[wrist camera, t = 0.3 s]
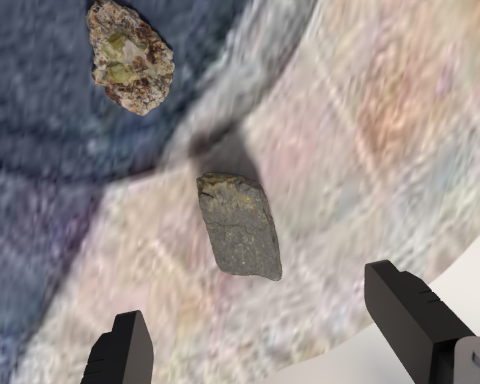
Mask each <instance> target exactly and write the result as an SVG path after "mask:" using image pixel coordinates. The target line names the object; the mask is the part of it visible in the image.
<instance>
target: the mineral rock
mask: <svg viewBox="0 0 480 384" xmlns="http://www.w3.org/2000/svg"><path fill="white" fill-rule="evenodd" d="M85 19H86V20H87V26H88V29H89V31H90V35H89V37H90V40H89V41H90V43H91V45H92V46H93V49H94V52H95V56H94V63H95V65H96V67H95V68H93V73H92V77H93V79H94V80H95V82H94V83H95V84H97V85H101V86H104V87H105V92H106V94H107V96H108V97H109V98H110V99H111V100H113V101H114V102H115V103H117V104H118V105H120V106H122V107H125V108H127V109H128V110H129V111H132V112H134V113H136V114H139V115H145V114H147V113H148V112H149V111H150V110H151V109H152V108H156V107H158V106H159V104H160V102H163V100H164V99H165V97H166V96H167V95H168V92H169V85H170V83H171V82H172V77H173V73H172V72H173V70H174V68H175V65H174V63H173V51H172V50H170V49H169V48H168V47H167V46H166V44H165V43H164V42H162V41H161V38H160V37H159V36H158V33H156V32H155V31H152V29H151V26H150V25H148V24H147V23H145V22H144V21H142V20H141V19H140V18H139V14H138V13H137V12H136V11H134V10H132V9H129V8H127V6H124V7H121V6H119V5H118V4H117V3H115V2H114V1H112V0H96V1H94V5H93V6H92V7H91V8H90V10H88V14H87V15H86V17H85Z"/></svg>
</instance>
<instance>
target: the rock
mask: <svg viewBox="0 0 480 384" xmlns="http://www.w3.org/2000/svg"><path fill="white" fill-rule="evenodd" d="M197 187H198V197H199V203H200V207H201V210H202V214H203V219H204V221H205V224H206V228H207V231H208V234H209V238H210V241H211V244H212V250H213V253H214V257H215V260H216V263H217V265H218V267H219V268H220V270H221V271H223V272H225V273H229V274H232V275H241V276H249V275H258V276H262V277H266V278H268V279H270V280H273V281H279V280H280V279H281V276H282V266H281V261H280V252H279V243H278V238H277V234H276V230H275V226H274V222H273V219H272V217H271V215H270V210H269V205H268V202H267V198H266V195H265V193H264V190H263V188H262V186H261V185H260V184H259V183H257V182H256V181H252V180H249V179H245V178H244V176H238V175H236V174H230V173H222V174H219V173H205V174H204V175H203V176H202V177H199V178H197Z"/></svg>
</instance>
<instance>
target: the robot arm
mask: <svg viewBox="0 0 480 384" xmlns="http://www.w3.org/2000/svg"><path fill="white" fill-rule="evenodd" d="M364 298H365V303H366V307H367V310H368V312H369V314H370V316H371V317H372V319H373V320H374V322H375V323H376V325H377V326H378V328H379V329H380V331H381V332H382V334H383V335H384V337H385V338H386V340H387V341H388V343H389V345H390V346H391V348H392V349H393V351H394V352H395V354H396V355H397V357H398V358H399V360H400V361H401V363H402V364H403V366H404V367H405V369H406V370H407V372H408V373H409V375H410V376H411V378H412V380H413V381H414V383H415V384H480V337H478V336H476V335H475V334H474V333H473V332H472V331H471V330H470V329H469V328H468V327H467V326H466V325H465V324H464V323H463V322H462V321H461V320H460V319H459V318H458V317H457V316H456V314H455V313H454V312H453V311H452V310H450V309H449V307H448V306H447V305H446V304H445V303H444V302H443V301H441V300H440V298H439V297H438V296H437V295H436V294H435V293H434V292H432V290H431V289H430V288H429V287H428V286H427V285H426V284H425V283H424V281H423V280H422V279H420V278H418V277H417V276H415V275H413V274H411V273H409V272H408V271H403V272H399V271H398V269H397V268H396V267H395V266H394V265H393V264H392V263H391V262H390V261H389V260H382V261H377V262H372V263H368V264H366V265H365V283H364ZM153 361H154V353H153V345H152V341H151V338H150V335H149V332H148V330H147V327H146V324H145V321H144V318H143V315H142V313H141V311H140V310H136V311H132V312H127V313H122V314H118V315H116V317H115V320H114V324H113V328H112V331H111V332H108V333H103V334H102V335H101V336H100V338H99V339H98V340H97V342H96V343H95V344H94V346H93V347H92V349H91V352H90V355H89V359H88V362H87V363H88V364H87V365H86V368H85V371H84V374H83V375H84V377H83V378H82V380H81V383H80V384H151V378H152V370H153Z"/></svg>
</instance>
